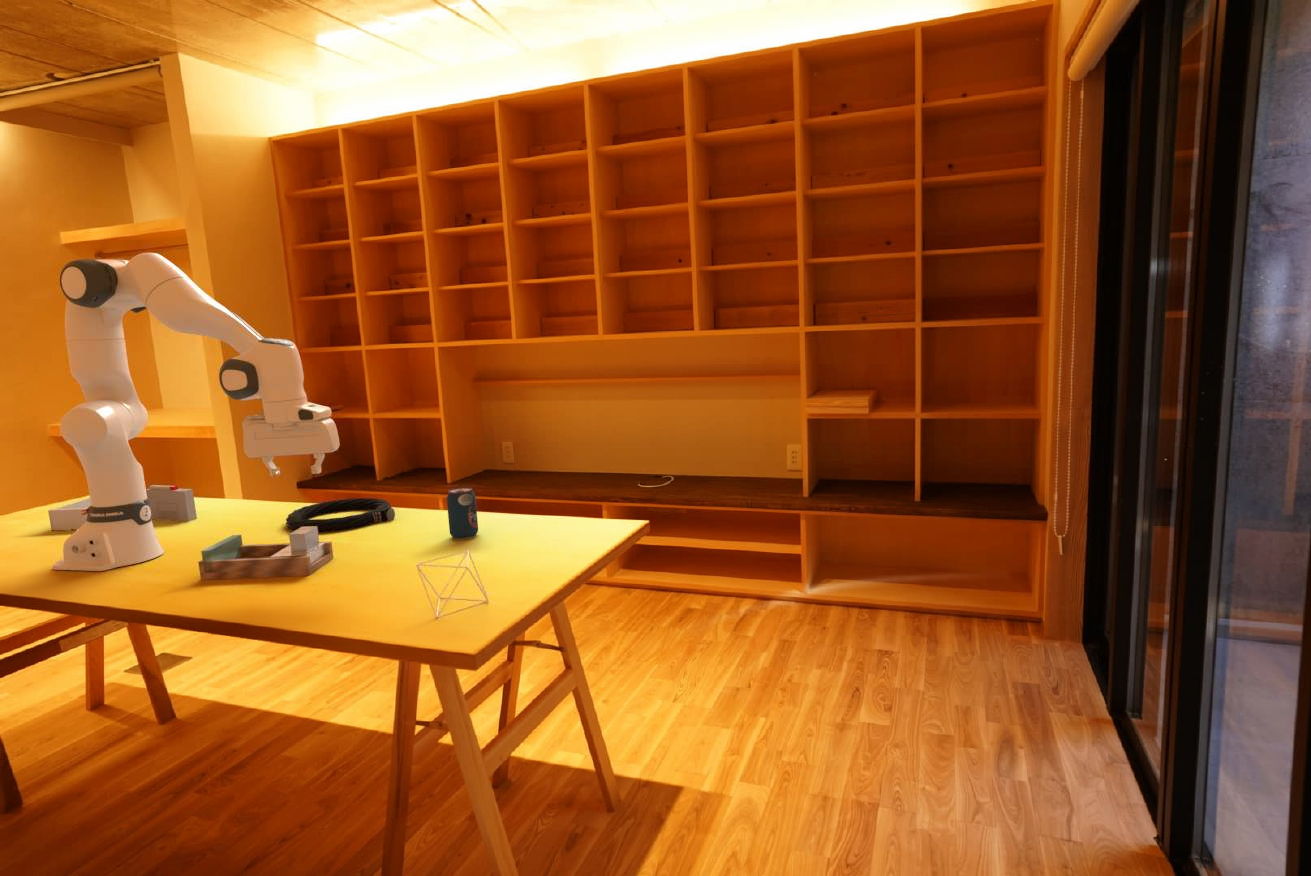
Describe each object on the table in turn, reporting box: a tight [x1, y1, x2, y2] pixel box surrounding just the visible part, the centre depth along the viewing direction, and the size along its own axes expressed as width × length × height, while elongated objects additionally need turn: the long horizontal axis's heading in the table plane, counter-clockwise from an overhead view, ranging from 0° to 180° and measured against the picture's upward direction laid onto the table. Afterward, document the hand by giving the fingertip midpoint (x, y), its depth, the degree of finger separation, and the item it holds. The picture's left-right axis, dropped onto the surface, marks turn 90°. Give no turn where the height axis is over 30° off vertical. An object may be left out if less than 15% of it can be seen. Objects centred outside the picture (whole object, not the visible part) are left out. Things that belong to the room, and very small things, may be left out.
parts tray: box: [47, 497, 91, 531], centre depth 227 cm, size 13×23×6 cm, turn 179°
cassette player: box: [146, 484, 198, 522], centre depth 223 cm, size 16×3×10 cm, turn 71°
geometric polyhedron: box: [415, 550, 489, 619], centre depth 143 cm, size 12×11×9 cm
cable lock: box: [285, 497, 396, 533], centre depth 213 cm, size 28×4×30 cm
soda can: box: [446, 486, 479, 541], centre depth 189 cm, size 7×7×12 cm
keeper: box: [270, 526, 326, 564], centre depth 171 cm, size 8×9×7 cm
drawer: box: [197, 534, 334, 581], centre depth 171 cm, size 24×12×6 cm, turn 89°
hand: (296, 474), depth 169 cm, fingers open, 8 cm apart
